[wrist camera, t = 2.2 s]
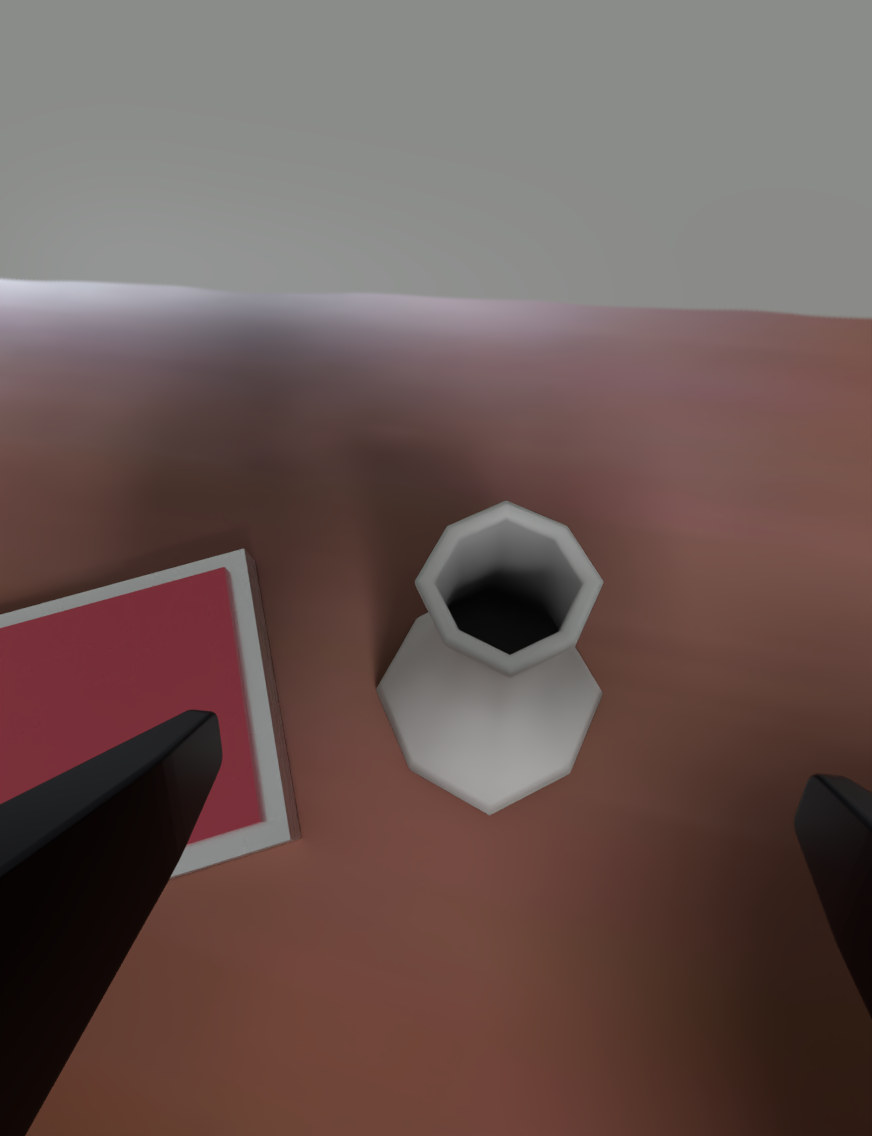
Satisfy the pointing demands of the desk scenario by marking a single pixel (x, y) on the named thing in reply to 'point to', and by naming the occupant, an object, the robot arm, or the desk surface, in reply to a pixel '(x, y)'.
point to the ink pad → (154, 692)
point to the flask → (496, 659)
